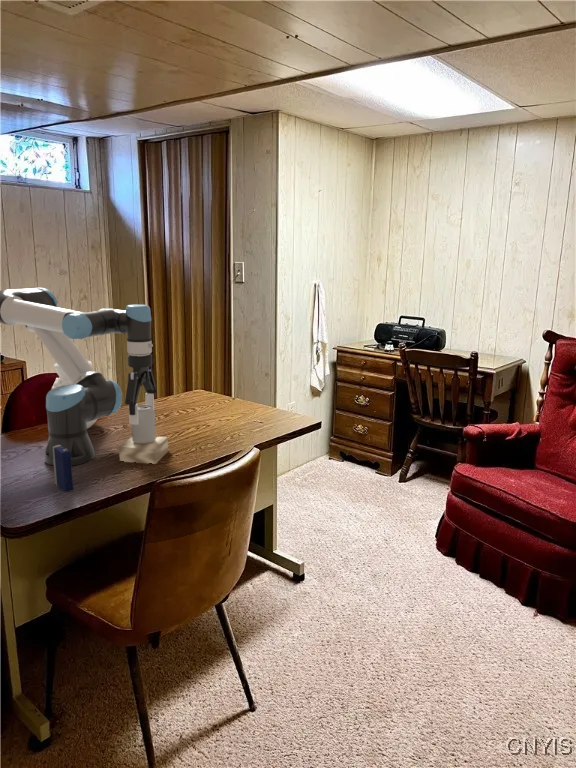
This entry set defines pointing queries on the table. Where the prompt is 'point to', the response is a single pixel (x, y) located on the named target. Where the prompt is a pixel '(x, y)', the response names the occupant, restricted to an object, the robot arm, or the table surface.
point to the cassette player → (62, 468)
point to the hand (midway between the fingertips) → (142, 418)
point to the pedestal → (143, 451)
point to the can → (144, 426)
